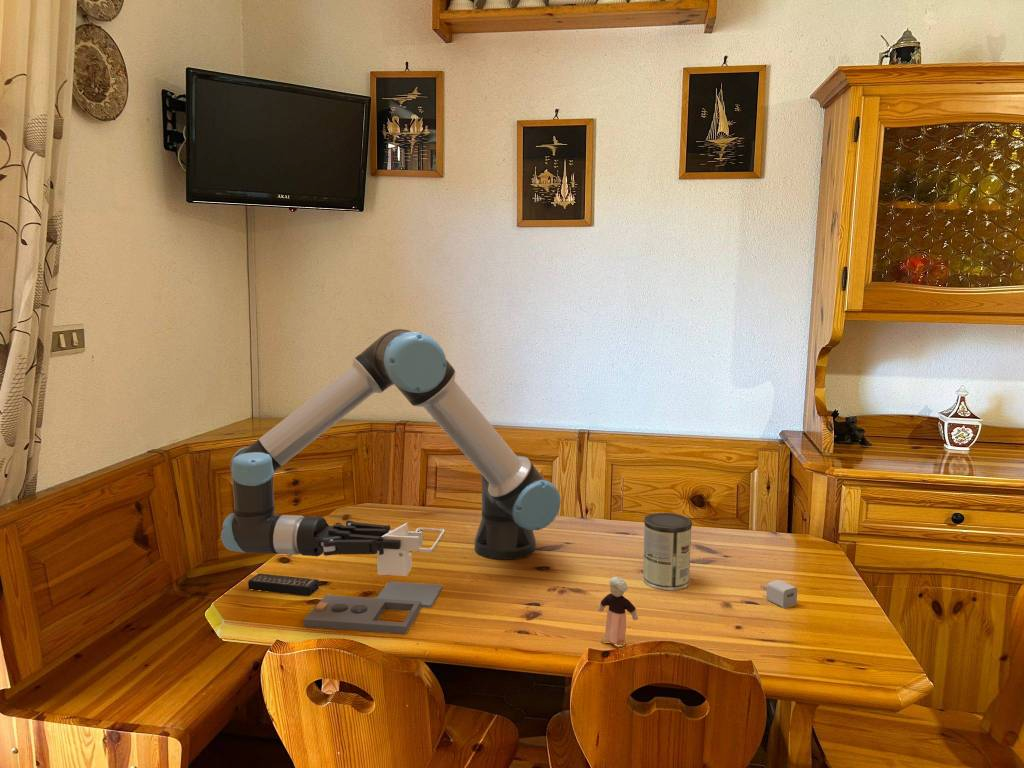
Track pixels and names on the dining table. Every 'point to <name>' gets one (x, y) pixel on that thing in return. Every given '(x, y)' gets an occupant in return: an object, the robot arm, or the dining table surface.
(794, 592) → the usb wall charger
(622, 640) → the grandmother figurine
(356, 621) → the grey control panel
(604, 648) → the dining table surface
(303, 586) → the multiport hub
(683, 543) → the coffee can
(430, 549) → the phone case
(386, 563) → the white wedge bracket
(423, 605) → the rubber mat
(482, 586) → the dining table surface
